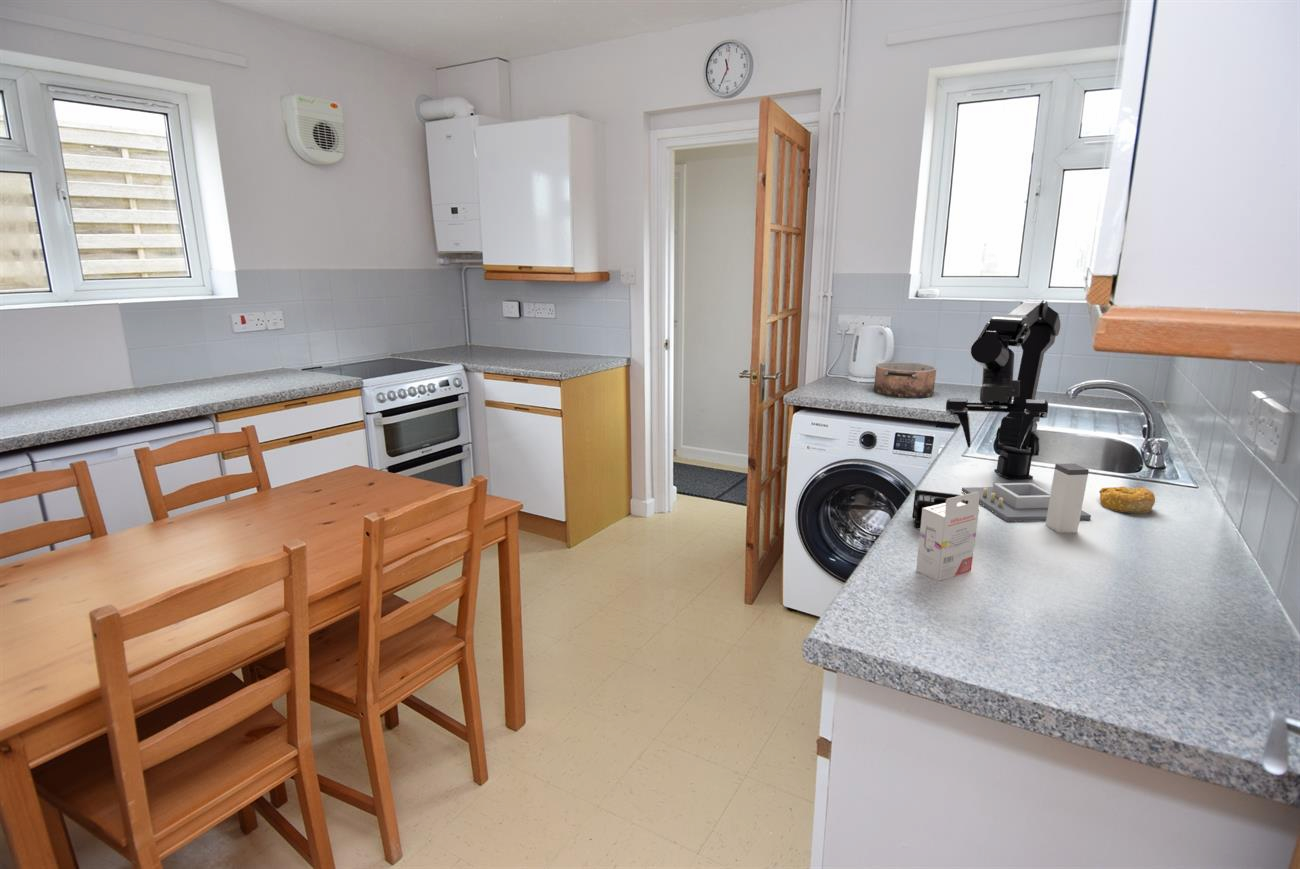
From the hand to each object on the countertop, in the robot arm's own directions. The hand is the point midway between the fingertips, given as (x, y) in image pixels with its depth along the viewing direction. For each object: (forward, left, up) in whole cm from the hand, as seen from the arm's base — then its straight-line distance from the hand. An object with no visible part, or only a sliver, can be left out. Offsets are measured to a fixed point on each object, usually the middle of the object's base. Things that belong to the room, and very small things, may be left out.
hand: (993, 448), depth 139 cm
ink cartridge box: (+22, +26, -14) cm, 37 cm away
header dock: (-11, -4, -14) cm, 18 cm away
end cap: (+13, +6, -15) cm, 21 cm away
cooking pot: (-38, -127, -15) cm, 133 cm away
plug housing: (-11, +9, -14) cm, 20 cm away
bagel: (-33, -2, -15) cm, 36 cm away
